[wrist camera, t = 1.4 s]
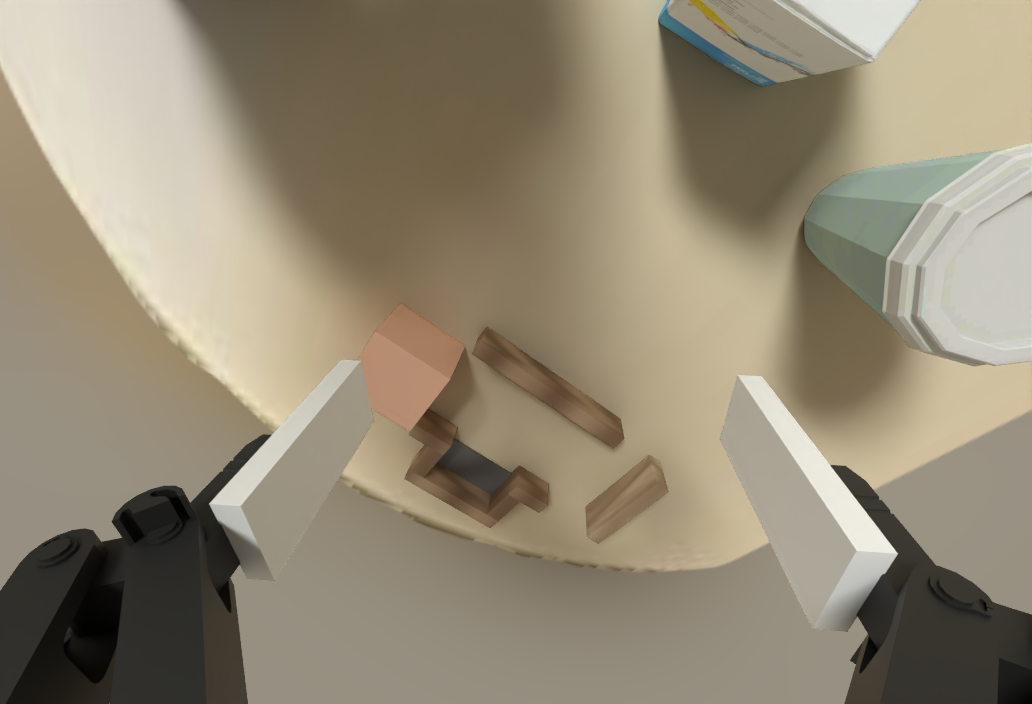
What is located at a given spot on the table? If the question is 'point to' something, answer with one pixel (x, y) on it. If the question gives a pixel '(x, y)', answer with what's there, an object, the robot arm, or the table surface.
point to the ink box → (787, 33)
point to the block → (407, 366)
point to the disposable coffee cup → (937, 250)
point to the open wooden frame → (497, 491)
